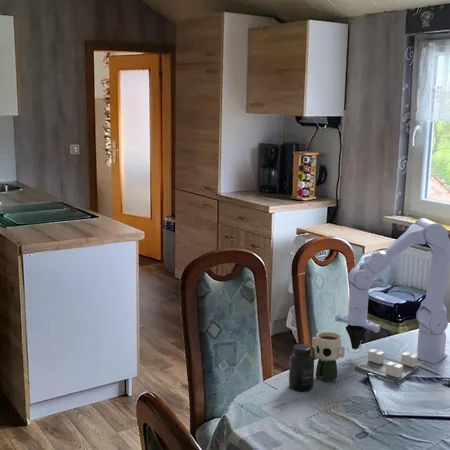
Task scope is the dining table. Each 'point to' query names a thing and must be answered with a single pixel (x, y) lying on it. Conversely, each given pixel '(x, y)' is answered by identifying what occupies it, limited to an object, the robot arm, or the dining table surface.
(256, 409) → the dining table surface
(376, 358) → the block
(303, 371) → the supplement bottle
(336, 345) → the character mug
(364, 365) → the panel
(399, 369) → the block
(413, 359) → the block
